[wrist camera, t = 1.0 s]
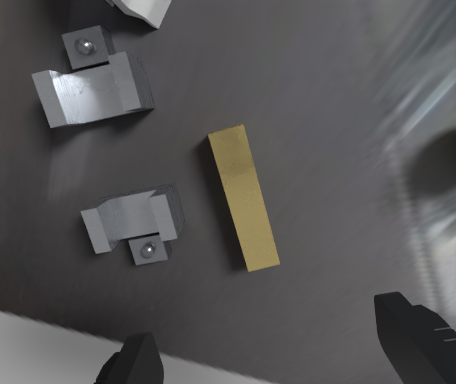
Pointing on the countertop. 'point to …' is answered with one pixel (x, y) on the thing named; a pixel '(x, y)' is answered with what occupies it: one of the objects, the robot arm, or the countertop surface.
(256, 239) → the link bar
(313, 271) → the countertop surface
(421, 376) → the robot arm
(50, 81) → the linkage with metal pins
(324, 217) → the countertop surface
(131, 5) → the white rounded housing
